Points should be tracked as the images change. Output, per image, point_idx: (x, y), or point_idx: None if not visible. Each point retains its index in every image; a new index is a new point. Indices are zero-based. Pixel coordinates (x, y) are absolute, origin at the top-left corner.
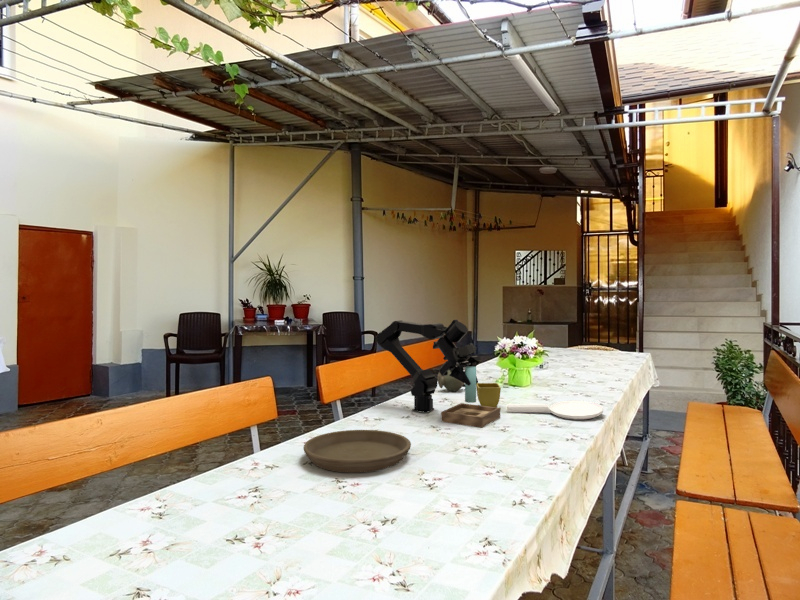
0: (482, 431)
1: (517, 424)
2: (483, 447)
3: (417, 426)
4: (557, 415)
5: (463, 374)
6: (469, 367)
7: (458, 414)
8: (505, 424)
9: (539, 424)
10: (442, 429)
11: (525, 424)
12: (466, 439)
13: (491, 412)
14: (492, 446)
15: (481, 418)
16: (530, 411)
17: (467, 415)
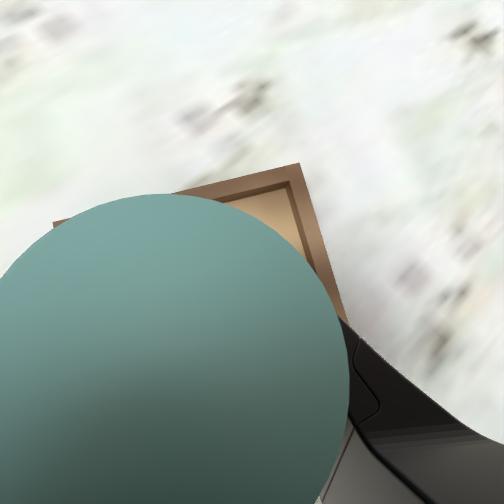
0: (331, 146)
1: (132, 105)
2: (477, 26)
3: (493, 404)
4: None
5: (385, 361)
6: (234, 369)
7: (339, 295)
8: (170, 142)
9: (65, 40)
10: (438, 285)
11: (107, 81)
12: (458, 123)
13: (176, 193)
14: (445, 11)
15: (299, 167)
16: None
17: (322, 243)
